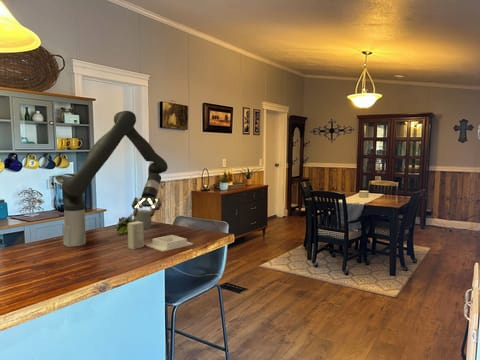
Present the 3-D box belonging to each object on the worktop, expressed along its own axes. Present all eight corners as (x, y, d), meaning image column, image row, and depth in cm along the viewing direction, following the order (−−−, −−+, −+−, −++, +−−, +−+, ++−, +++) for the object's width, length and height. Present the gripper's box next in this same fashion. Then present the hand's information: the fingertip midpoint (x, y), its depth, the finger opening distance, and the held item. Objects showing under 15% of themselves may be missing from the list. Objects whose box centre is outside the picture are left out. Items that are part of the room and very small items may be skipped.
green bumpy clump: (121, 241, 209) (126, 222, 215) (138, 240, 205) (142, 220, 211) (109, 234, 200) (114, 214, 206) (125, 232, 196) (130, 211, 202)
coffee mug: (154, 227, 224) (154, 210, 223) (144, 230, 214) (144, 213, 214) (136, 224, 229) (136, 208, 228) (125, 228, 220) (125, 211, 219)
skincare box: (138, 245, 181) (138, 220, 180) (144, 246, 179) (143, 222, 178) (127, 247, 177) (127, 222, 176) (132, 249, 174) (132, 224, 173)
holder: (163, 251, 171) (162, 244, 171) (145, 245, 181) (145, 239, 180) (192, 244, 184) (193, 238, 184) (175, 239, 194) (175, 233, 194)
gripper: (136, 185, 194) (127, 210, 184) (162, 186, 193) (154, 211, 182) (139, 194, 200) (131, 219, 190) (165, 195, 198) (158, 220, 188)
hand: (143, 215), depth 186 cm, fingers open, 8 cm apart
